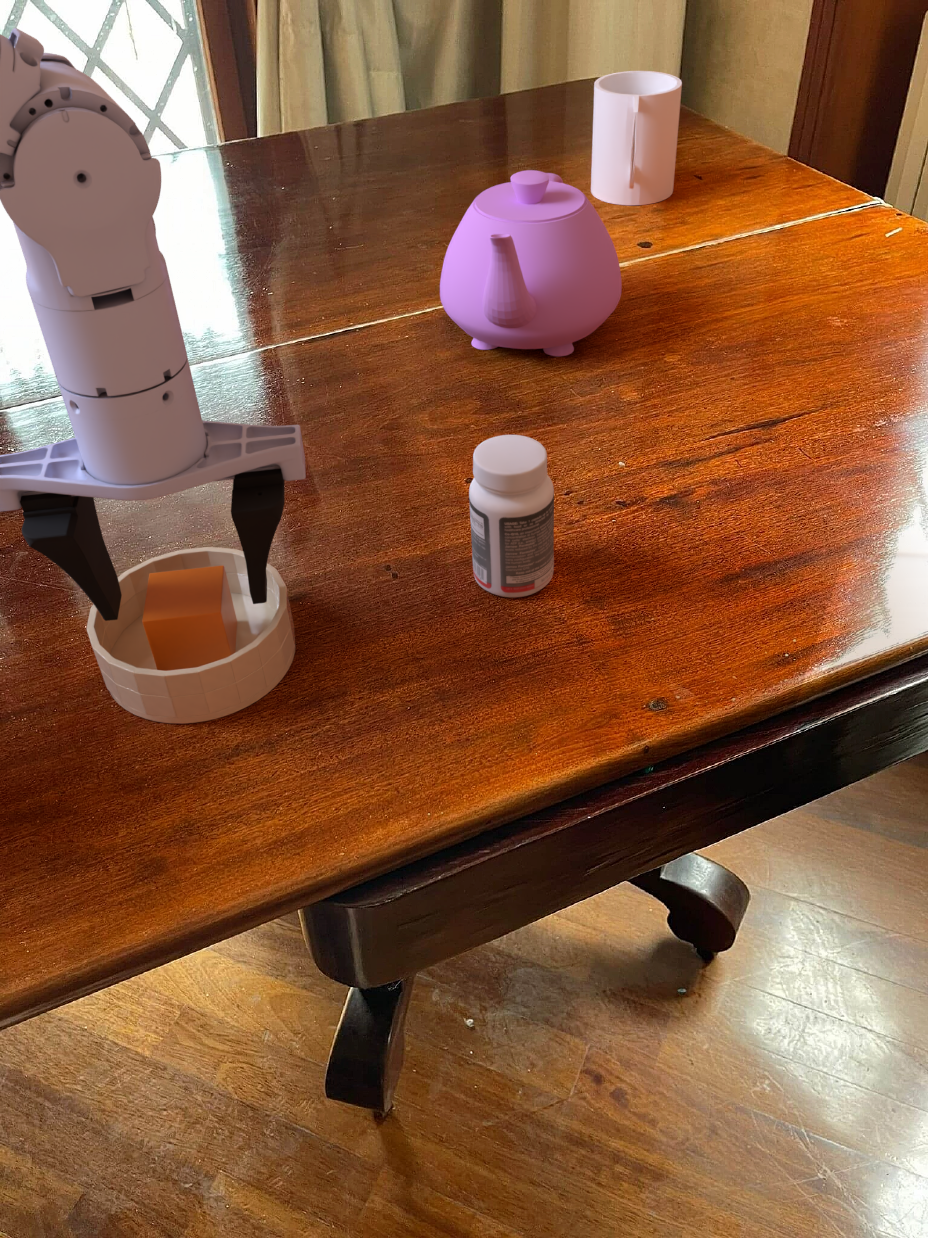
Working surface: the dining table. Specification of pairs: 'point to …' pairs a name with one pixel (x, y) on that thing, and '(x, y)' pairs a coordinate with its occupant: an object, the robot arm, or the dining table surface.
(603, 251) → the teapot
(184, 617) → the block
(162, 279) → the robot arm
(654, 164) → the cup
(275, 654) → the bowl
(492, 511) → the pill bottle
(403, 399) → the dining table surface
